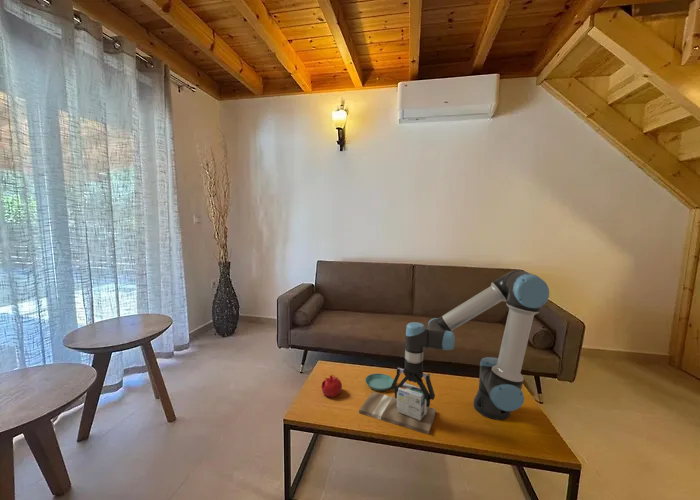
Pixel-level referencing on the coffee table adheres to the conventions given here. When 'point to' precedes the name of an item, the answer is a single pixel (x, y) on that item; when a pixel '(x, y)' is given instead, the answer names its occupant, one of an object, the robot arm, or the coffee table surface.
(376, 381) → the saucer
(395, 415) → the board
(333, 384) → the pomegranate
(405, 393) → the light bulb box
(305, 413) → the coffee table surface
